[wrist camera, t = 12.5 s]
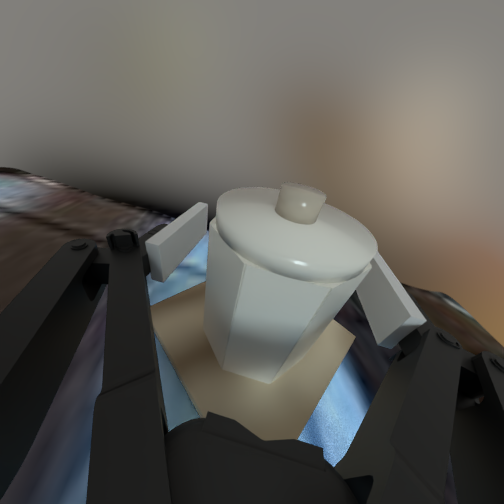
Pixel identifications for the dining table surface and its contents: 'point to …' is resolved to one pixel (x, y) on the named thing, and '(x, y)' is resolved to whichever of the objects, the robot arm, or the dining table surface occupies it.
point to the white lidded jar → (278, 275)
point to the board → (240, 387)
